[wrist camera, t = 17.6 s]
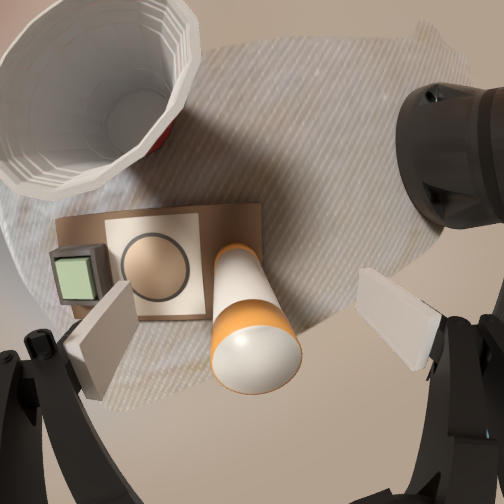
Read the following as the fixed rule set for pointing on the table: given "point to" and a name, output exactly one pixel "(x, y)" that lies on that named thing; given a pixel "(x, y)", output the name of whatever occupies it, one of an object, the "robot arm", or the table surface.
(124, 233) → the board
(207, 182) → the table surface
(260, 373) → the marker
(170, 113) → the plastic cup
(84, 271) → the button
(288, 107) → the table surface
